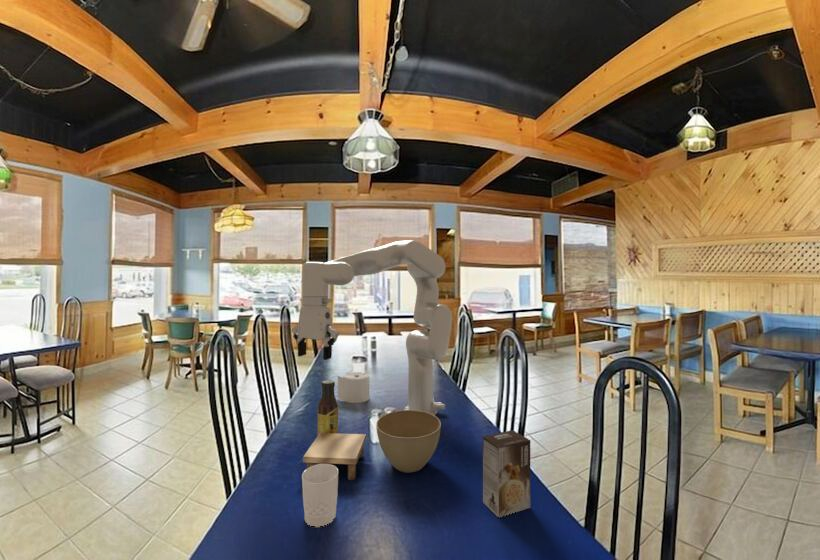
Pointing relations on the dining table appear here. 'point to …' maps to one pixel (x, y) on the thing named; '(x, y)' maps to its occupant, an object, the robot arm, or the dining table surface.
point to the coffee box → (506, 473)
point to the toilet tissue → (354, 387)
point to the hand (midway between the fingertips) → (314, 357)
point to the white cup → (320, 494)
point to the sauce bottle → (328, 409)
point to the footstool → (336, 450)
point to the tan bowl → (408, 438)
